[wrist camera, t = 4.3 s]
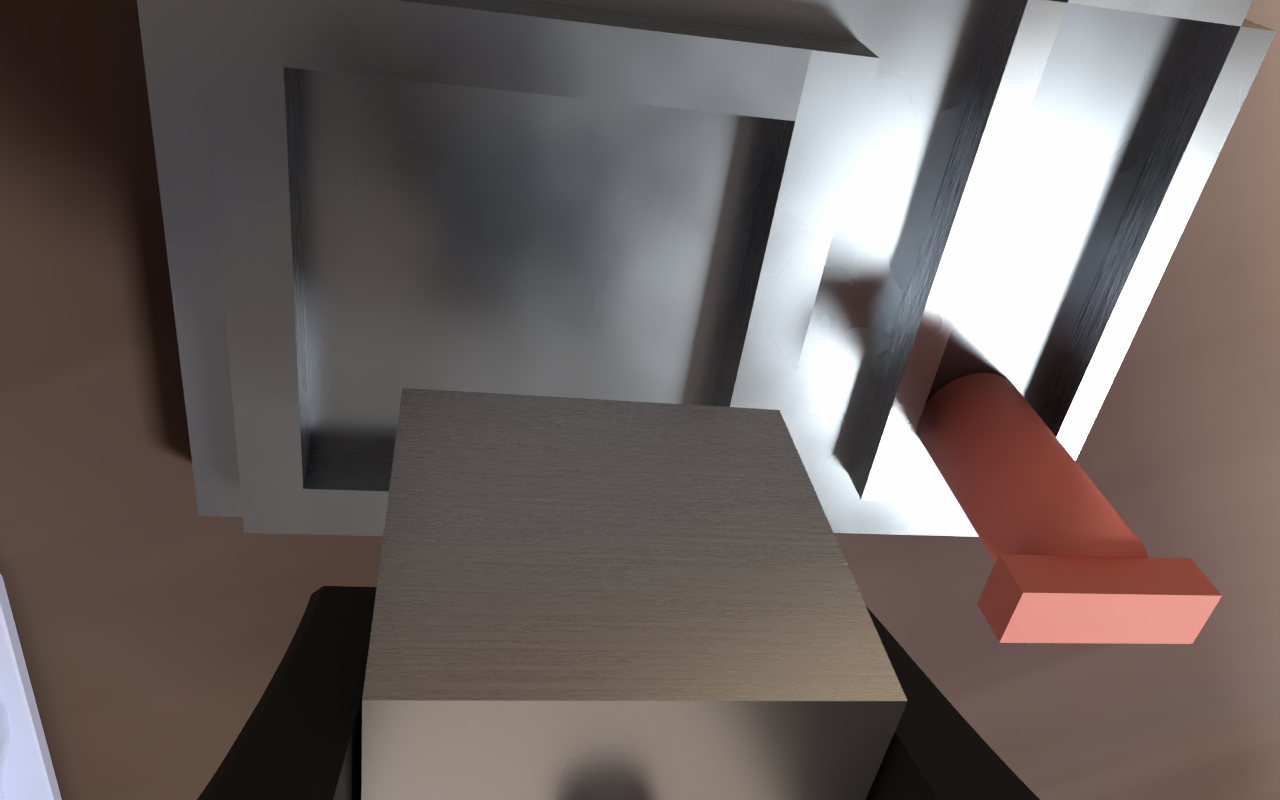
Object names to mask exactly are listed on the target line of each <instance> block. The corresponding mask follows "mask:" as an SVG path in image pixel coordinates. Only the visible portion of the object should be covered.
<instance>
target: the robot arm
mask: <svg viewBox="0 0 1280 800" xmlns="http://www.w3.org/2000/svg"><path fill="white" fill-rule="evenodd" d="M376 589H377V587H341V586H323V587H321V588H320V589H318V590H317V591H316V592H314V593H313V594H312V595H311V597H310V600H309V603H308V605H307V608H306V611H305V613H304V615H303V618H302V620H301V622H300V624H299V626H298V629H297V631H296V633H295V635H294V637H293V639H292V641H291V643H290V645H289V647H288V649H287V651H286V653H285V655H284V657H283V659H282V661H281V663H280V665H279V667H278V669H277V670H276V672H275V674H274V676H273V678H272V679H271V681H270V683H269V685H268V687H267V689H266V690H265V692H264V694H263V696H262V698H261V699H260V701H259V703H258V704H257V706H256V708H255V709H254V711H253V713H252V714H251V716H250V718H249V719H248V721H247V723H246V724H245V726H244V727H243V729H242V731H241V732H240V734H239V736H238V737H237V739H236V741H235V742H234V744H233V746H232V747H231V749H230V751H229V752H228V754H227V756H226V757H225V759H224V760H223V762H222V764H221V765H220V767H219V768H218V770H217V771H216V773H215V774H214V776H213V777H212V779H211V780H210V782H209V783H208V785H207V786H206V788H205V789H204V791H203V792H202V794H201V795H200V796H199V798H198V799H197V800H361V788H362V698H363V690H364V682H365V674H366V667H367V659H368V651H369V643H370V635H371V628H372V620H373V612H374V604H375V597H376ZM866 608H867V607H866ZM867 610H868V612H869V614H870V617H871V619H872V621H873V624H874V626H875V628H876V630H877V633H878V635H879V637H880V639H881V642H882V644H883V646H884V649H885V651H886V653H887V655H888V658H889V660H890V662H891V664H892V667H893V669H894V671H895V673H896V676H897V678H898V680H899V683H900V685H901V687H902V689H903V692H904V694H905V696H906V698H907V704H906V706H905V709H904V711H903V713H902V716H901V718H900V720H899V723H898V725H897V727H896V730H895V732H894V734H893V737H892V739H891V741H890V744H889V746H888V748H887V751H886V753H885V756H884V758H883V760H882V763H881V765H880V767H879V770H878V772H877V774H876V777H875V779H874V781H873V784H872V786H871V788H870V791H869V793H868V795H867V798H866V800H1040V799H1039V798H1038V797H1037V796H1036V795H1035V794H1034V793H1033V792H1032V791H1031V790H1030V789H1029V788H1028V787H1027V786H1026V785H1025V784H1024V783H1023V782H1022V781H1021V780H1020V779H1019V778H1018V777H1017V776H1016V774H1015V773H1014V772H1013V771H1012V770H1011V769H1010V768H1009V767H1008V766H1007V765H1006V764H1005V763H1004V762H1003V761H1002V760H1001V759H1000V758H999V756H998V755H997V754H996V753H995V752H994V751H993V750H992V749H991V748H990V747H989V746H988V745H987V744H986V742H985V741H984V740H983V739H982V738H981V737H980V736H979V735H978V734H977V733H976V731H975V730H974V729H973V728H972V727H971V726H970V725H969V724H968V723H967V721H966V720H965V719H964V718H963V717H962V716H961V715H960V714H959V712H958V711H957V710H956V709H955V708H954V707H953V706H952V705H951V703H950V702H949V701H948V700H947V699H946V698H945V697H944V696H943V694H942V693H941V692H940V691H939V690H938V689H937V687H936V686H935V685H934V684H933V683H932V682H931V681H930V679H929V678H928V677H927V676H926V675H925V674H924V672H923V671H922V670H921V669H920V668H919V667H918V666H917V664H916V663H915V662H914V661H913V660H912V659H911V657H910V656H909V655H908V654H907V653H906V652H905V650H904V649H903V648H902V647H901V646H900V645H899V643H898V642H897V641H896V640H895V639H894V638H893V636H892V635H891V634H890V633H889V632H888V631H887V629H886V628H885V627H884V626H883V625H882V624H881V622H880V621H879V620H878V619H877V618H876V617H875V616H874V614H873V613H872V612H871V611H870V610H869V609H868V608H867ZM0 800H62V799H61V795H60V791H59V788H58V784H57V780H56V776H55V773H54V769H53V765H52V761H51V758H50V754H49V750H48V746H47V743H46V739H45V735H44V731H43V728H42V724H41V720H40V716H39V713H38V709H37V705H36V701H35V698H34V694H33V690H32V686H31V683H30V679H29V675H28V671H27V668H26V664H25V660H24V656H23V653H22V649H21V645H20V641H19V638H18V634H17V630H16V626H15V622H14V619H13V615H12V611H11V607H10V604H9V600H8V596H7V592H6V589H5V585H4V581H3V578H2V576H1V574H0Z"/></svg>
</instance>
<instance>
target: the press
mask: <svg viewBox="0 0 1280 800" xmlns="http://www.w3.org/2000/svg"><path fill="white" fill-rule="evenodd" d="M1252 1H1253V0H137V6H138V15H139V23H140V31H141V40H142V48H143V56H144V65H145V73H146V81H147V90H148V98H149V107H150V115H151V123H152V132H153V140H154V148H155V157H156V165H157V173H158V182H159V190H160V198H161V207H162V215H163V223H164V232H165V240H166V249H167V257H168V265H169V274H170V282H171V290H172V299H173V307H174V315H175V324H176V332H177V340H178V349H179V357H180V366H181V374H182V382H183V391H184V399H185V407H186V416H187V424H188V432H189V441H190V449H191V457H192V466H193V474H194V483H195V491H196V499H197V508H198V516H225V517H243V525H244V533H276V534H318V535H359V536H383V534H384V527H385V519H386V511H387V503H388V496H389V488H390V480H391V472H392V464H393V457H394V449H395V441H396V433H397V426H398V418H399V410H400V402H401V394H402V388H412V389H430V390H447V391H464V392H481V393H498V394H515V395H532V396H550V397H567V398H584V399H601V400H618V401H635V402H652V403H670V404H687V405H704V406H721V407H738V408H755V409H772V410H780V412H781V415H782V417H783V419H784V421H785V424H786V426H787V428H788V431H789V433H790V435H791V437H792V440H793V442H794V444H795V446H796V449H797V451H798V453H799V455H800V458H801V460H802V462H803V465H804V467H805V469H806V471H807V474H808V476H809V478H810V480H811V483H812V485H813V487H814V490H815V492H816V494H817V496H818V499H819V501H820V503H821V505H822V508H823V510H824V512H825V515H826V517H827V519H828V521H829V524H830V526H831V528H832V530H833V533H863V534H901V535H938V536H976V537H979V536H978V534H977V533H976V531H975V529H974V528H973V526H972V524H971V523H970V521H969V520H968V518H967V516H966V515H965V513H964V511H963V510H962V508H961V506H960V505H959V503H958V502H957V500H956V498H955V497H954V495H953V493H952V492H951V490H950V488H949V487H948V485H947V483H946V482H945V480H944V479H943V477H942V475H941V474H940V472H939V470H938V469H937V467H936V465H935V464H934V462H933V461H932V459H931V457H930V456H929V454H928V452H927V451H926V449H925V447H924V446H923V444H922V442H921V440H920V438H919V433H918V425H919V420H920V417H921V415H922V412H923V409H924V407H925V405H926V404H927V402H928V401H929V400H930V398H931V397H932V396H933V395H934V394H935V393H936V392H937V391H939V390H940V389H941V388H942V387H944V386H945V385H947V384H948V383H950V382H952V381H954V380H956V379H958V378H960V377H963V376H966V375H971V374H977V373H991V374H996V375H1000V376H1002V377H1004V378H1006V379H1008V380H1009V381H1010V382H1012V383H1013V384H1014V385H1015V387H1016V388H1017V389H1018V390H1019V392H1020V393H1021V394H1022V395H1023V397H1024V398H1025V399H1026V400H1027V402H1028V403H1029V404H1030V405H1031V407H1032V408H1033V409H1034V410H1035V412H1036V413H1037V414H1038V415H1039V417H1040V418H1041V419H1042V420H1043V422H1044V423H1045V424H1046V425H1047V427H1048V428H1049V429H1050V430H1051V431H1052V433H1053V434H1054V435H1055V436H1056V438H1057V439H1058V440H1059V441H1060V443H1061V444H1062V445H1063V446H1064V448H1065V449H1066V450H1067V451H1068V453H1069V454H1070V455H1071V456H1072V458H1073V459H1074V460H1076V458H1077V456H1078V454H1079V452H1080V450H1081V448H1082V445H1083V443H1084V441H1085V439H1086V437H1087V435H1088V433H1089V431H1090V428H1091V426H1092V424H1093V422H1094V420H1095V418H1096V416H1097V413H1098V411H1099V409H1100V407H1101V405H1102V403H1103V401H1104V399H1105V396H1106V394H1107V392H1108V390H1109V388H1110V386H1111V384H1112V381H1113V379H1114V377H1115V375H1116V373H1117V371H1118V369H1119V367H1120V364H1121V362H1122V360H1123V358H1124V356H1125V354H1126V352H1127V349H1128V347H1129V345H1130V343H1131V341H1132V339H1133V337H1134V334H1135V332H1136V330H1137V328H1138V326H1139V324H1140V322H1141V320H1142V317H1143V315H1144V313H1145V311H1146V309H1147V307H1148V305H1149V302H1150V300H1151V298H1152V296H1153V294H1154V292H1155V290H1156V288H1157V285H1158V283H1159V281H1160V279H1161V277H1162V275H1163V273H1164V270H1165V268H1166V266H1167V264H1168V262H1169V260H1170V258H1171V256H1172V253H1173V251H1174V249H1175V247H1176V245H1177V243H1178V241H1179V238H1180V236H1181V234H1182V232H1183V230H1184V228H1185V226H1186V223H1187V221H1188V219H1189V217H1190V215H1191V213H1192V211H1193V209H1194V206H1195V204H1196V202H1197V200H1198V198H1199V196H1200V194H1201V191H1202V189H1203V187H1204V185H1205V183H1206V181H1207V179H1208V177H1209V174H1210V172H1211V170H1212V168H1213V166H1214V164H1215V162H1216V159H1217V157H1218V155H1219V153H1220V151H1221V149H1222V147H1223V145H1224V142H1225V140H1226V138H1227V136H1228V134H1229V132H1230V130H1231V127H1232V125H1233V123H1234V121H1235V119H1236V117H1237V115H1238V112H1239V110H1240V108H1241V106H1242V104H1243V102H1244V100H1245V98H1246V95H1247V93H1248V91H1249V89H1250V87H1251V85H1252V83H1253V80H1254V78H1255V76H1256V74H1257V72H1258V70H1259V68H1260V66H1261V63H1262V61H1263V59H1264V57H1265V55H1266V53H1267V51H1268V48H1269V46H1270V44H1271V42H1272V40H1273V38H1274V36H1275V34H1276V31H1274V30H1272V29H1269V28H1267V27H1264V26H1261V25H1259V24H1256V23H1254V22H1251V21H1248V20H1246V19H1245V16H1246V14H1247V12H1248V10H1249V7H1250V5H1251V3H1252Z"/></svg>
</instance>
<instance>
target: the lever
mask: <svg viewBox="0 0 1280 800" xmlns="http://www.w3.org/2000/svg"><path fill="white" fill-rule="evenodd" d="M918 433H919V438H920V440H921V442H922V444H923V446H924V447H925V449H926V451H927V452H928V454H929V456H930V457H931V459H932V461H933V462H934V464H935V465H936V467H937V469H938V470H939V472H940V474H941V475H942V477H943V479H944V480H945V482H946V483H947V485H948V487H949V488H950V490H951V492H952V493H953V495H954V497H955V498H956V500H957V502H958V503H959V505H960V506H961V508H962V510H963V511H964V513H965V515H966V516H967V518H968V520H969V521H970V523H971V524H972V526H973V528H974V529H975V531H976V533H977V534H978V536H979V538H980V539H981V541H982V542H983V544H984V546H985V547H986V549H987V551H988V552H989V554H990V556H991V557H992V559H993V561H994V562H995V565H994V567H993V569H992V572H991V574H990V576H989V578H988V581H987V583H986V585H985V587H984V590H983V592H982V594H981V596H980V599H979V601H978V605H979V607H980V609H981V611H982V612H983V614H984V616H985V618H986V619H987V621H988V623H989V625H990V627H991V628H992V630H993V632H994V634H995V635H996V637H997V639H998V641H999V643H1159V644H1192V643H1193V642H1194V640H1195V638H1196V637H1197V635H1198V634H1199V632H1200V630H1201V629H1202V627H1203V626H1204V624H1205V622H1206V621H1207V619H1208V618H1209V616H1210V614H1211V613H1212V611H1213V610H1214V608H1215V606H1216V605H1217V603H1218V601H1219V600H1220V598H1221V597H1222V595H1221V594H1220V593H1219V592H1218V590H1217V589H1216V588H1215V587H1214V586H1213V585H1212V583H1211V582H1210V581H1209V580H1208V579H1207V577H1206V576H1205V575H1204V574H1203V573H1202V572H1201V570H1200V569H1199V568H1198V567H1197V566H1196V564H1195V563H1194V562H1193V561H1192V560H1191V559H1187V558H1148V556H1147V552H1146V550H1145V548H1144V546H1143V545H1142V543H1141V542H1140V541H1139V540H1138V538H1137V537H1136V536H1135V535H1134V534H1133V532H1132V531H1131V530H1130V529H1129V527H1128V526H1127V525H1126V524H1125V522H1124V521H1123V520H1122V519H1121V517H1120V516H1119V515H1118V514H1117V512H1116V511H1115V510H1114V509H1113V507H1112V506H1111V505H1110V504H1109V502H1108V501H1107V500H1106V499H1105V497H1104V496H1103V495H1102V494H1101V492H1100V491H1099V490H1098V489H1097V487H1096V486H1095V485H1094V484H1093V483H1092V481H1091V480H1090V479H1089V478H1088V476H1087V475H1086V474H1085V473H1084V471H1083V470H1082V469H1081V468H1080V466H1079V465H1078V464H1077V463H1076V461H1075V460H1074V459H1073V458H1072V456H1071V455H1070V454H1069V453H1068V451H1067V450H1066V449H1065V448H1064V446H1063V445H1062V444H1061V443H1060V441H1059V440H1058V439H1057V438H1056V436H1055V435H1054V434H1053V433H1052V431H1051V430H1050V429H1049V428H1048V427H1047V425H1046V424H1045V423H1044V422H1043V420H1042V419H1041V418H1040V417H1039V415H1038V414H1037V413H1036V412H1035V410H1034V409H1033V408H1032V407H1031V405H1030V404H1029V403H1028V402H1027V400H1026V399H1025V398H1024V397H1023V395H1022V394H1021V393H1020V392H1019V390H1018V389H1017V388H1016V387H1015V385H1014V384H1013V383H1012V382H1010V381H1009V380H1008V379H1006V378H1004V377H1002V376H1000V375H996V374H991V373H977V374H971V375H966V376H963V377H960V378H958V379H956V380H954V381H952V382H950V383H948V384H947V385H945V386H944V387H942V388H941V389H940V390H939V391H937V392H936V393H935V394H934V395H933V396H932V397H931V398H930V400H929V401H928V402H927V404H926V405H925V407H924V409H923V412H922V415H921V417H920V420H919V425H918Z"/></svg>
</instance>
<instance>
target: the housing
mask: <svg viewBox="0 0 1280 800" xmlns="http://www.w3.org/2000/svg"><path fill="white" fill-rule="evenodd" d="M906 704H907V698H906V696H905V694H904V692H903V689H902V687H901V685H900V683H899V680H898V678H897V676H896V673H895V671H894V669H893V667H892V664H891V662H890V660H889V658H888V655H887V653H886V651H885V649H884V646H883V644H882V642H881V639H880V637H879V635H878V633H877V630H876V628H875V626H874V624H873V621H872V619H871V617H870V614H869V612H868V610H867V608H866V605H865V603H864V601H863V599H862V596H861V594H860V592H859V589H858V587H857V585H856V583H855V580H854V578H853V576H852V574H851V571H850V569H849V567H848V564H847V562H846V560H845V558H844V555H843V553H842V551H841V549H840V546H839V544H838V542H837V540H836V537H835V535H834V533H833V530H832V528H831V526H830V524H829V521H828V519H827V517H826V515H825V512H824V510H823V508H822V505H821V503H820V501H819V499H818V496H817V494H816V492H815V490H814V487H813V485H812V483H811V480H810V478H809V476H808V474H807V471H806V469H805V467H804V465H803V462H802V460H801V458H800V455H799V453H798V451H797V449H796V446H795V444H794V442H793V440H792V437H791V435H790V433H789V431H788V428H787V426H786V424H785V421H784V419H783V417H782V415H781V412H780V410H772V409H755V408H738V407H721V406H704V405H687V404H670V403H652V402H635V401H618V400H601V399H584V398H567V397H550V396H532V395H515V394H498V393H481V392H464V391H447V390H430V389H412V388H402V394H401V402H400V410H399V418H398V426H397V433H396V441H395V449H394V457H393V464H392V472H391V480H390V488H389V496H388V503H387V511H386V519H385V527H384V534H383V542H382V550H381V558H380V565H379V573H378V581H377V589H376V597H375V604H374V612H373V620H372V628H371V635H370V643H369V651H368V659H367V667H366V674H365V682H364V690H363V698H362V788H361V800H866V798H867V795H868V793H869V791H870V788H871V786H872V784H873V781H874V779H875V777H876V774H877V772H878V770H879V767H880V765H881V763H882V760H883V758H884V756H885V753H886V751H887V748H888V746H889V744H890V741H891V739H892V737H893V734H894V732H895V730H896V727H897V725H898V723H899V720H900V718H901V716H902V713H903V711H904V709H905V706H906Z"/></svg>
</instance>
